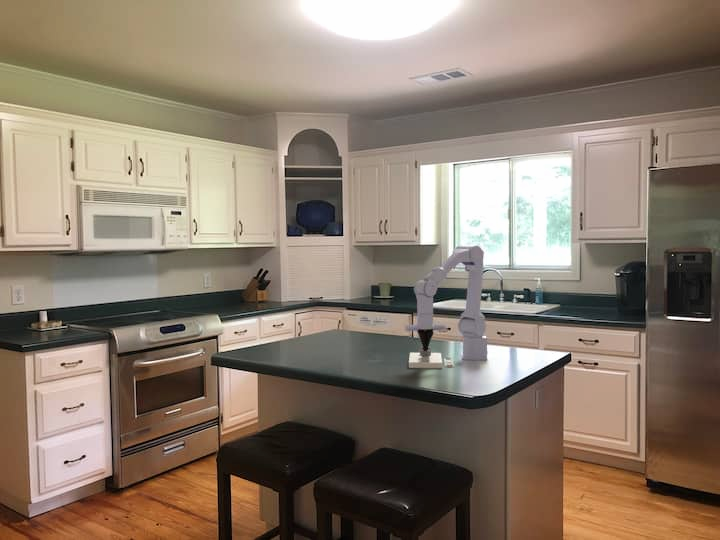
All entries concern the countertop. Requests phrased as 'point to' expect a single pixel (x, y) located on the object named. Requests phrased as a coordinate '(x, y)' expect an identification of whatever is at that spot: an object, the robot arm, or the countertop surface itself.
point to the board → (416, 362)
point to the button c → (425, 355)
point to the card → (448, 362)
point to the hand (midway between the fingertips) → (425, 350)
